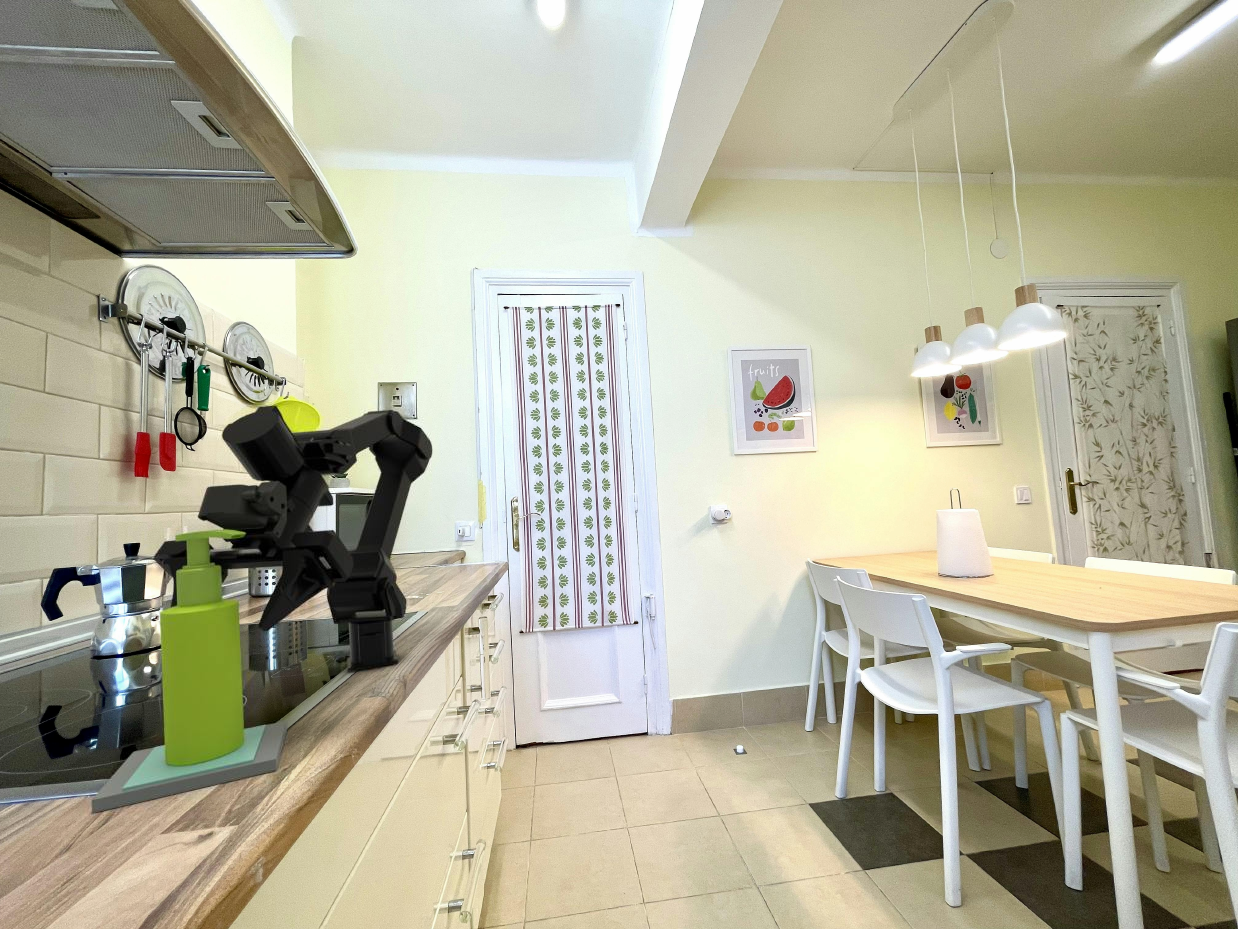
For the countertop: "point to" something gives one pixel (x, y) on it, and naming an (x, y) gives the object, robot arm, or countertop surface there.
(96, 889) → the countertop surface
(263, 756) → the board
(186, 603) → the soap dispenser
